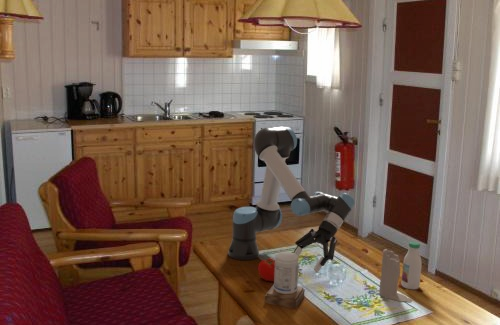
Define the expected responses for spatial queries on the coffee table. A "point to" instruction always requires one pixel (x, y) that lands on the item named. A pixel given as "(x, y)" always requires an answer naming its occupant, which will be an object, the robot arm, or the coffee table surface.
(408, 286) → the milk bottle
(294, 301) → the plinth
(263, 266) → the tomato
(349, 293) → the coffee table surface
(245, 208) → the robot arm
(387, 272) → the beige bookend
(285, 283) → the supplement tub
